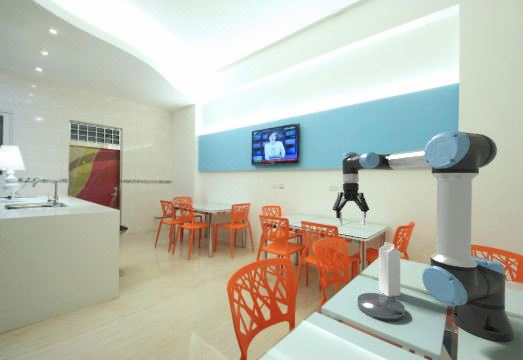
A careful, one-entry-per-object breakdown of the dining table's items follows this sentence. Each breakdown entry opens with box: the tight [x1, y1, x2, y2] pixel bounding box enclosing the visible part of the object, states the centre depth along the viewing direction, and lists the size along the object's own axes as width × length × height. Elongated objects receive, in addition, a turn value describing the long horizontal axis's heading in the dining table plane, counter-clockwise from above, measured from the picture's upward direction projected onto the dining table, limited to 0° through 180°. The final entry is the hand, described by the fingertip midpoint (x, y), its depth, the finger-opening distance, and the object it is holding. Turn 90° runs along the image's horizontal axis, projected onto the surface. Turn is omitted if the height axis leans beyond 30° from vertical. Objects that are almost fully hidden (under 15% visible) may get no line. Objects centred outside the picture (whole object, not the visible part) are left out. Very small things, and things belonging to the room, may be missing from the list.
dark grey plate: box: [357, 292, 406, 322], centre depth 90 cm, size 16×16×2 cm
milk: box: [378, 241, 401, 297], centre depth 104 cm, size 6×6×22 cm
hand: (351, 224), depth 119 cm, fingers open, 13 cm apart
